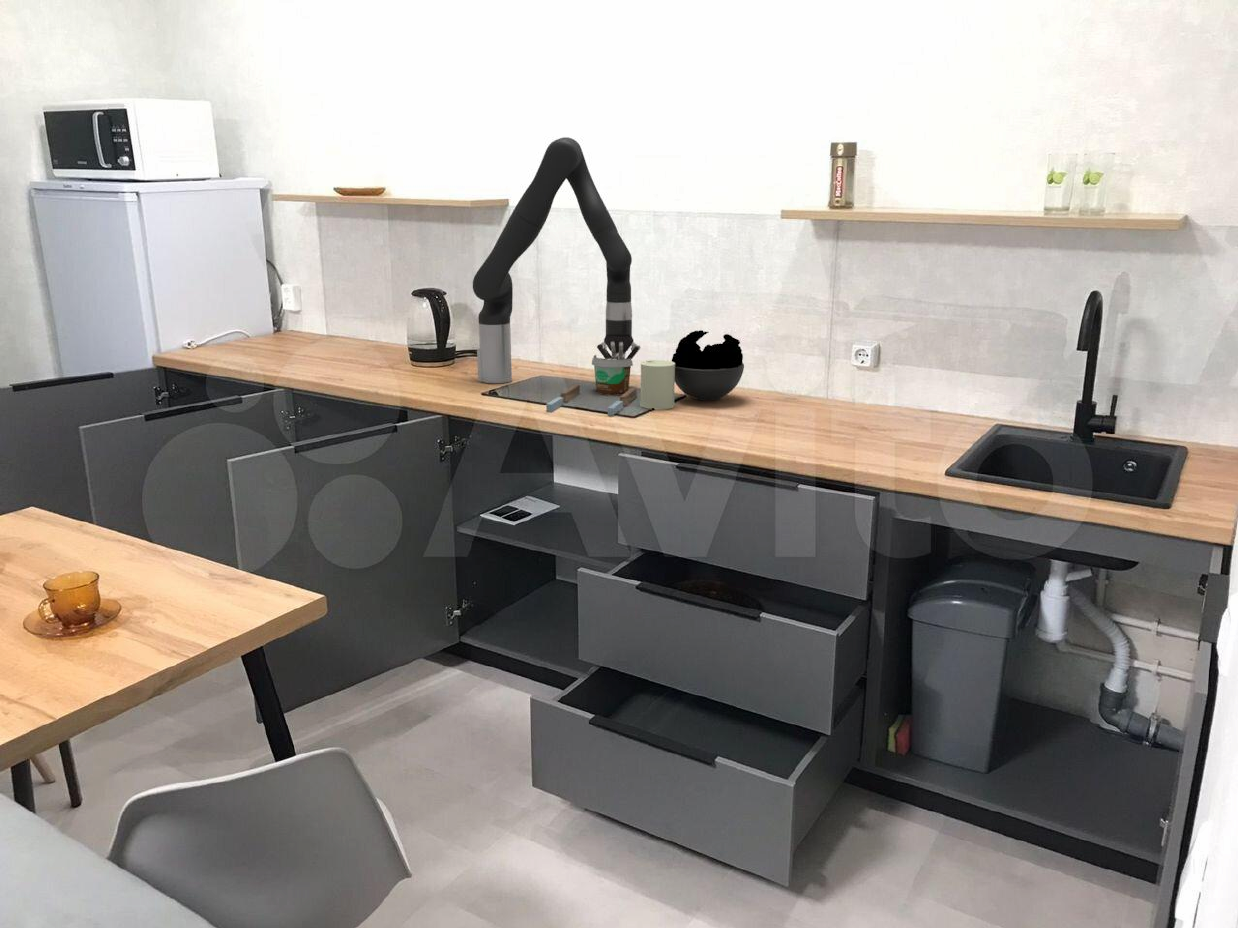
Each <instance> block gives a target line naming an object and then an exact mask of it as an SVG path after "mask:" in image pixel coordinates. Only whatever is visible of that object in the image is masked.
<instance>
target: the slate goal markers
mask: <svg viewBox="0 0 1238 928" xmlns="http://www.w3.org/2000/svg"><path fill="white" fill-rule="evenodd" d="M562 406H564V403H563V397H561V396H557V397H556V398H554V399H553V400H551V401H549V402H547V403H546V410H545V411H546V412H547V413H553V412H554V411H556V410H558V409H559V408H560V407H562ZM622 408H623V409H624V406H623V401H620V400H616V401H615V402H614V403H613V404H611V405H610V406H608V407H607V416H608V417H614V416H615V415H614V414H615V413H617V412H618V411H619V412H620V411H622V410H623V409H622ZM621 409H622V410H621ZM619 412H618V413H619ZM618 413H617V414H618Z"/></svg>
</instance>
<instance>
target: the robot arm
mask: <svg viewBox="0 0 1238 928" xmlns="http://www.w3.org/2000/svg"><path fill="white" fill-rule="evenodd" d="M533 177H534V178H533V179H532V180H531V183H530V184H529V185H528V187H527V188H526V190H525V191H524V193H523V194H522V196H521V197H520V199H519V200H518V203H517V204H516V205H515V207H514V209H513V211H512V213H511V214H510V216H509V218H508V220H507V222H506V224H505V226H504V227H503V229H502V231H501V233H500V234H499V237H498V239H497V240H496V243H495V245H494V246H493V248H492V249H491V251H490V253H489V255H487V258H486V259H485V260H484V261H483V263H482V264H481V266H480V267H479V269H478V270H477V272H475V275H474V276H473V280H472V290H473V293H474V295H475V296H476V297H477V299H479V300H481V301H483V305H482V308H481V310H480V312H479V313H478V317H477V318H478V319H477V320H478V338H479V341H478V342H479V348H478V349H477V350H476V358H477V359H476V360H477V363H476V364H477V382H481V383H486V384H503V383H510V382H511V381H512V380H513V372H512V369H513V368H512V342H511V341H512V338H511V335H512V334H511V316H512V312H513V295H514V294H513V293H514V292H513V280H512V277H511V274H510V273H509V272H510V270H511V268H512V267H513V266H514V264H515V263H516V262H517V260H518V259H519V258H520V257H521V256H522V255H523V254H524V253H525V252H526V251H527V250H528V249H529V248H530V247H531V245H533V244H534V242H535V240H536V239H537V237H538V236H539V234H540V233H541V232H542V231H541V230H542V229H543V228H544V225H545V223H546V222H547V219H548V217H549V215H550V211H551V208H552V205H553V202H554V199H555V197H556V195H557V194H558V192H559V189H560V188H561V187H562V185H563V184H564V182H565V181H566V180H567V182H568V184H569V185H570V187H571V190H572V191H573V193H574V195H575V198H576V200H577V203H578V207H579V209H580V213H581V215H582V218H583V220H584V222H585V225H586V226H587V228H588V230H589V232H590V234H591V235H592V237H593V239H594V241H595V242H596V244H597V245H598V247H599V249H600V252H601V253H602V257H604V260H605V264H606V280H607V281H606V302H605V337H604V339H603V342H602V343H599V344H598V345H597V346H596V347H597V350H598V351H599V353H600V354H601V355H602V356H603V359H608V358H614V359H618V360H623V359H630V358H631V360H633V358H635V356H636V355H637V353H638V352H639V351H640V350H641V345H638V344H637V343H636V342H634V338H633V309H632V307H633V306H632V286H631V281H630V279H631V265H632V262H633V260H632V259H633V258H632V253H631V252H630V250H629V248H628V247H627V245H626V243H625V242H624V240H623V239H622V237H621V235H620V234H619V232H618V228H617V226H616V224H615V222H614V220H613V218H612V216H611V214H610V212H609V210H608V209H607V207H606V205H605V203H604V200H603V199H602V197H601V195H600V193H599V192H598V188H597V186H596V185H595V182H594V179H593V178H592V176H591V173H590V170H589V167H588V164H587V162H586V159H585V156H584V152H583V150H582V147H581V145H580V143H579V142H578V141H577V140H575V139H573V138H572V137H568V136H567V137H565V136H564V137H560V138H557V139H555V140H553V141H551V142H550V143H549V145H548V146H547V147H546V149H545V152H544V154H543V156H542V158H541V162H540V165H539V166H538V169H537V171H536V173H535V176H533ZM607 348H608V349H609V351H610V352H611V354H610V352H609V351H608V349H607ZM629 349H630V351H631V352H630V353H629V354H628V355H627V357H626V353H627V352H628V351H629Z"/></svg>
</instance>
